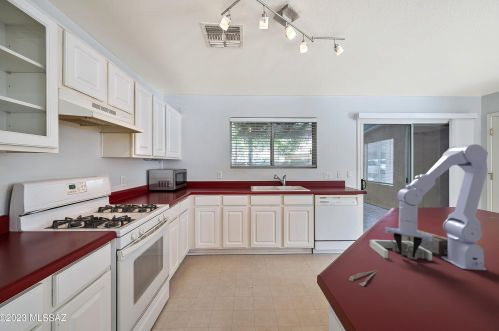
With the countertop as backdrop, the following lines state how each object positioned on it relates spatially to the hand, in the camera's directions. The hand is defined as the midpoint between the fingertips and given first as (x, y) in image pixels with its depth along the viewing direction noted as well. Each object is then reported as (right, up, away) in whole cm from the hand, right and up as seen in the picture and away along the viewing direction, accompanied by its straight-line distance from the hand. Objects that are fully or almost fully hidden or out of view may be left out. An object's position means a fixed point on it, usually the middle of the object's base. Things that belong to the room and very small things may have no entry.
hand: (406, 255), depth 82 cm
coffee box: (+15, +1, +19) cm, 24 cm away
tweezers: (-21, -2, -12) cm, 25 cm away
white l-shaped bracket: (+1, -2, +6) cm, 6 cm away
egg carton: (+4, -2, +5) cm, 7 cm away
